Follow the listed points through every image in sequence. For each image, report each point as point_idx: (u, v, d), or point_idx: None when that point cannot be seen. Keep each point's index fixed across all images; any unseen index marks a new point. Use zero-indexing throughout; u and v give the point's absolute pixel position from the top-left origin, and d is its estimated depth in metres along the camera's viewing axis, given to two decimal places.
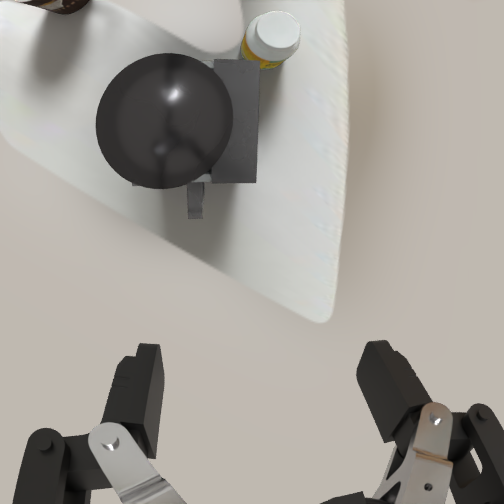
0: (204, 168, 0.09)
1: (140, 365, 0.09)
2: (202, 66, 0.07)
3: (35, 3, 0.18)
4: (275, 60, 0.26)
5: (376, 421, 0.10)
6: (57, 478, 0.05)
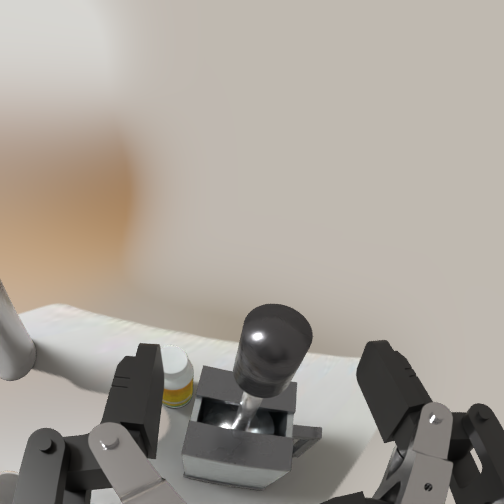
0: (303, 318, 0.18)
1: (140, 365, 0.09)
2: (254, 310, 0.18)
3: None
4: None
5: (376, 421, 0.10)
6: (57, 478, 0.05)
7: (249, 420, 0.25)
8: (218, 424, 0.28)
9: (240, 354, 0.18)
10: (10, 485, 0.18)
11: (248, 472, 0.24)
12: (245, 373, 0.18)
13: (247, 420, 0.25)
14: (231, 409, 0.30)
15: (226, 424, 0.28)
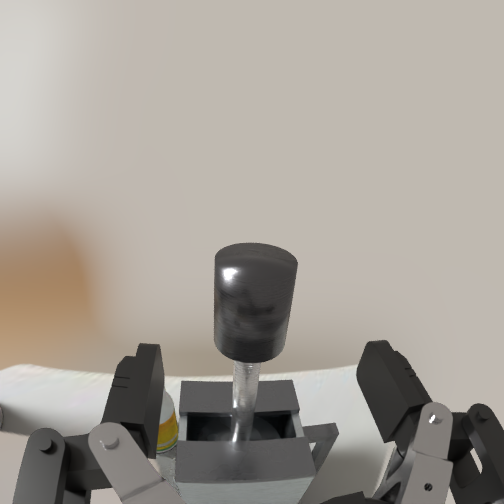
0: (281, 249, 0.17)
1: (140, 365, 0.09)
2: (224, 248, 0.16)
3: None
4: (173, 405, 0.30)
5: (376, 421, 0.10)
6: (57, 478, 0.05)
7: (248, 424, 0.20)
8: None
9: (218, 301, 0.15)
10: None
11: (264, 493, 0.18)
12: (229, 325, 0.15)
13: (246, 424, 0.20)
14: (225, 427, 0.24)
15: None
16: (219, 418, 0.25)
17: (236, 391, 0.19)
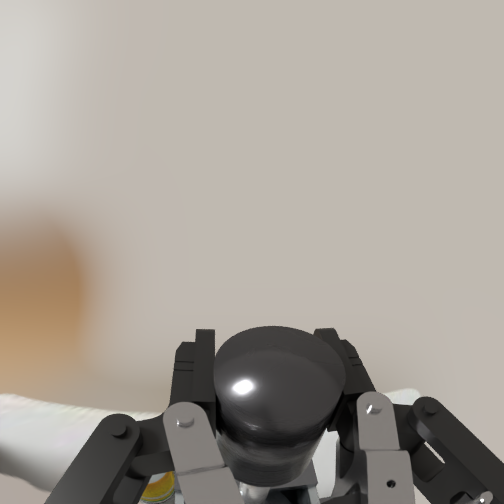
0: (316, 338, 0.10)
1: (201, 348, 0.10)
2: (228, 342, 0.10)
3: None
4: None
5: None
6: (120, 465, 0.06)
7: None
8: None
9: (220, 425, 0.09)
10: None
11: None
12: (238, 456, 0.09)
13: None
14: None
15: None
16: None
17: (244, 490, 0.12)
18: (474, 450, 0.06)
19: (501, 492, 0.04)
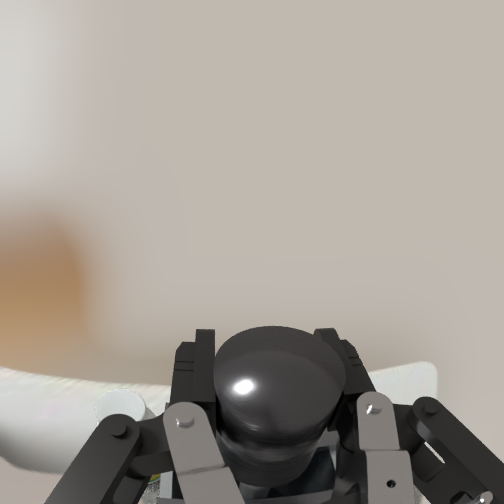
0: (316, 338, 0.10)
1: (201, 348, 0.10)
2: (228, 342, 0.10)
3: None
4: None
5: None
6: (120, 465, 0.06)
7: None
8: None
9: (220, 425, 0.09)
10: None
11: None
12: (238, 456, 0.09)
13: None
14: None
15: None
16: None
17: (244, 490, 0.12)
18: (474, 450, 0.06)
19: (501, 492, 0.04)
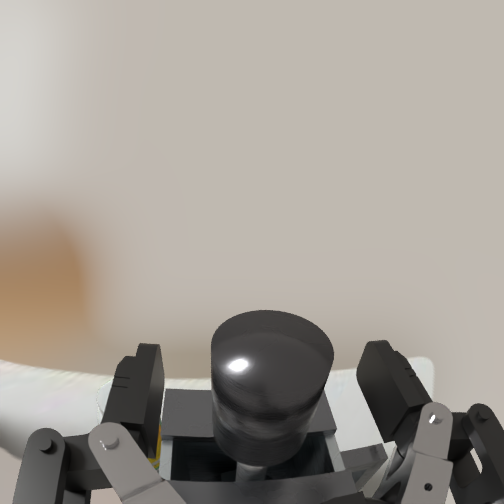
0: (307, 321, 0.11)
1: (140, 365, 0.09)
2: (225, 323, 0.11)
3: None
4: None
5: (376, 421, 0.10)
6: (57, 478, 0.05)
7: None
8: None
9: (217, 402, 0.10)
10: None
11: None
12: (233, 432, 0.10)
13: None
14: None
15: None
16: (220, 476, 0.20)
17: (241, 474, 0.13)
18: None
19: None
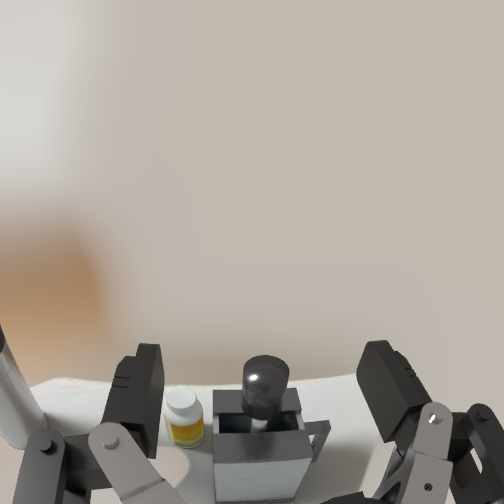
0: (280, 360, 0.27)
1: (140, 365, 0.09)
2: (247, 361, 0.27)
3: None
4: None
5: (376, 421, 0.10)
6: (57, 478, 0.05)
7: None
8: None
9: (245, 391, 0.26)
10: None
11: (276, 471, 0.26)
12: (251, 404, 0.26)
13: None
14: None
15: None
16: None
17: (253, 431, 0.29)
18: None
19: None
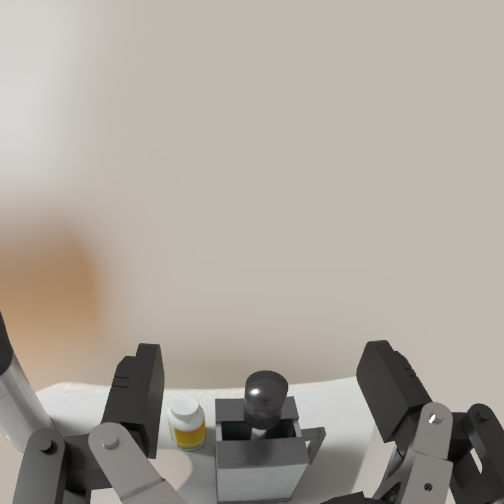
0: (280, 375, 0.29)
1: (140, 365, 0.09)
2: (249, 377, 0.29)
3: None
4: None
5: (376, 421, 0.10)
6: (57, 478, 0.05)
7: None
8: None
9: (247, 404, 0.28)
10: None
11: (274, 475, 0.28)
12: (252, 415, 0.27)
13: None
14: None
15: None
16: None
17: (253, 438, 0.31)
18: None
19: None
